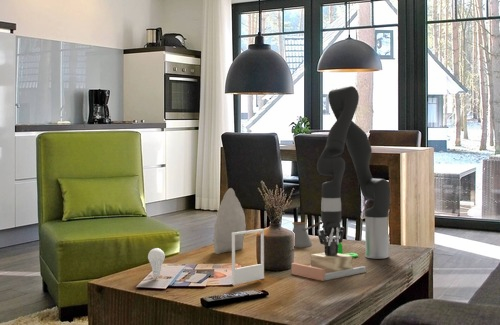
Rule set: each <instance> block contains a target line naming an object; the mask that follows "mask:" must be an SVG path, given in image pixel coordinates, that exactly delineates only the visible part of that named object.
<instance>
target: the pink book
mask: <svg viewBox="0 0 500 325" xmlns="http://www.w3.org/2000/svg"><path fill="white" fill-rule="evenodd" d="M364 273H367V266H363V265H361V266H357V267H352V268H351V269H346V270H341V271H336V272H331V273H325V269H321V268H316V267H311V264H310V265H306V264H301V263H297V262H291V275H294V276H295V275H296V276H299V277H304V278H309V279H311V280H312V279H313V280H317V281H322V282H324V281H330V280H334V279H339V278H342V277H343V278H344V277H348V276H353V275H357V274H364Z"/></svg>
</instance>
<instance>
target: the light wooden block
mask: <svg viewBox="0 0 500 325" xmlns="http://www.w3.org/2000/svg"><path fill="white" fill-rule="evenodd" d="M330 246H331V255H330V256H326V255H325V251H324V252H319V253H311V254H310V265H311V267H316V268H321V269H325V273H331V272H336V271H341V270H346V269H351V268H353V258H352V256H351V255H345V254H346V253H343V254H339V253H338V254H337V255H336V242H333V241H332V240H331V244H330Z"/></svg>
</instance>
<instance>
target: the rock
mask: <svg viewBox="0 0 500 325" xmlns="http://www.w3.org/2000/svg"><path fill="white" fill-rule="evenodd" d="M213 227H214V232H213V237H212V243H213V248H214V254H217V255H218V254H223V253H226V252H232V233H234V232H242V231H247V230H246V227H247V224H246V216H245V211H244V209H243V207H242V205H241V202H240V201H239V199H238V197H237V196H236V193H235V190H234V189H233V188H232V187H230V188H228V189H227V191H226V192H225V193H224V194H223V198H222V200H221V201H220V206H218V210H217V212H216V219H215V223H214V225H213ZM245 234H246V233H245ZM245 234H238V235H235V251H238V250H242V249H243V248H244V241H245V240H244V239H245Z"/></svg>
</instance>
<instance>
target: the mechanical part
mask: <svg viewBox="0 0 500 325" xmlns="http://www.w3.org/2000/svg"><path fill="white" fill-rule="evenodd" d="M338 253H339V254H345V255H351V256H352V259H354V257H356V258H358V257H359V255H358V253H355V252H350V253H349V252H348V253H344V252H343V244H342V242H340V243H339V244H338Z"/></svg>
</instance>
